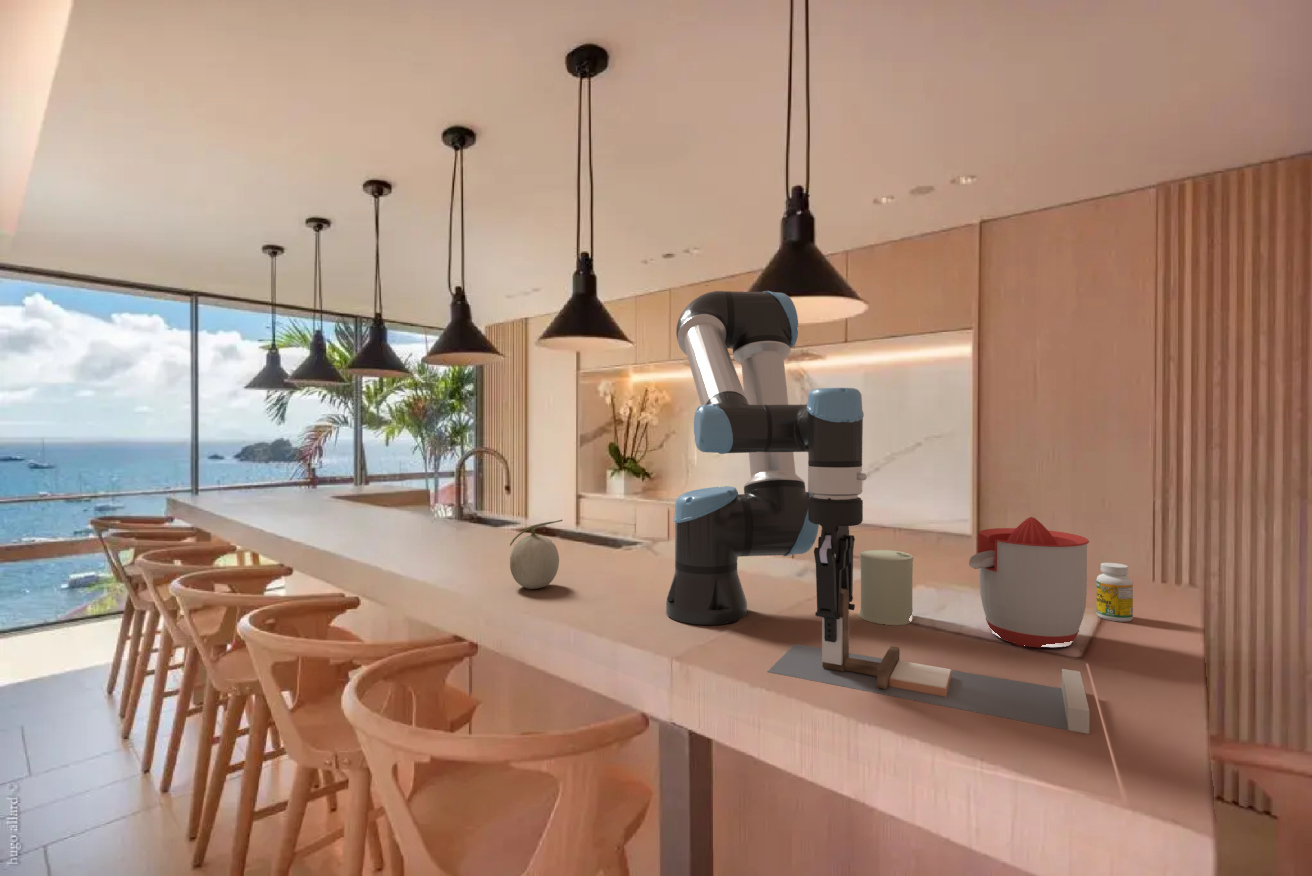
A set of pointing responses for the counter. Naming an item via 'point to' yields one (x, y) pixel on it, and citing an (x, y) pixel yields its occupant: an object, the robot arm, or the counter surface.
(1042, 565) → the citrus juicer
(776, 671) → the grey board
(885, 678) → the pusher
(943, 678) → the tile
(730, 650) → the counter surface
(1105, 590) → the supplement bottle
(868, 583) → the can
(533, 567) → the fruit
